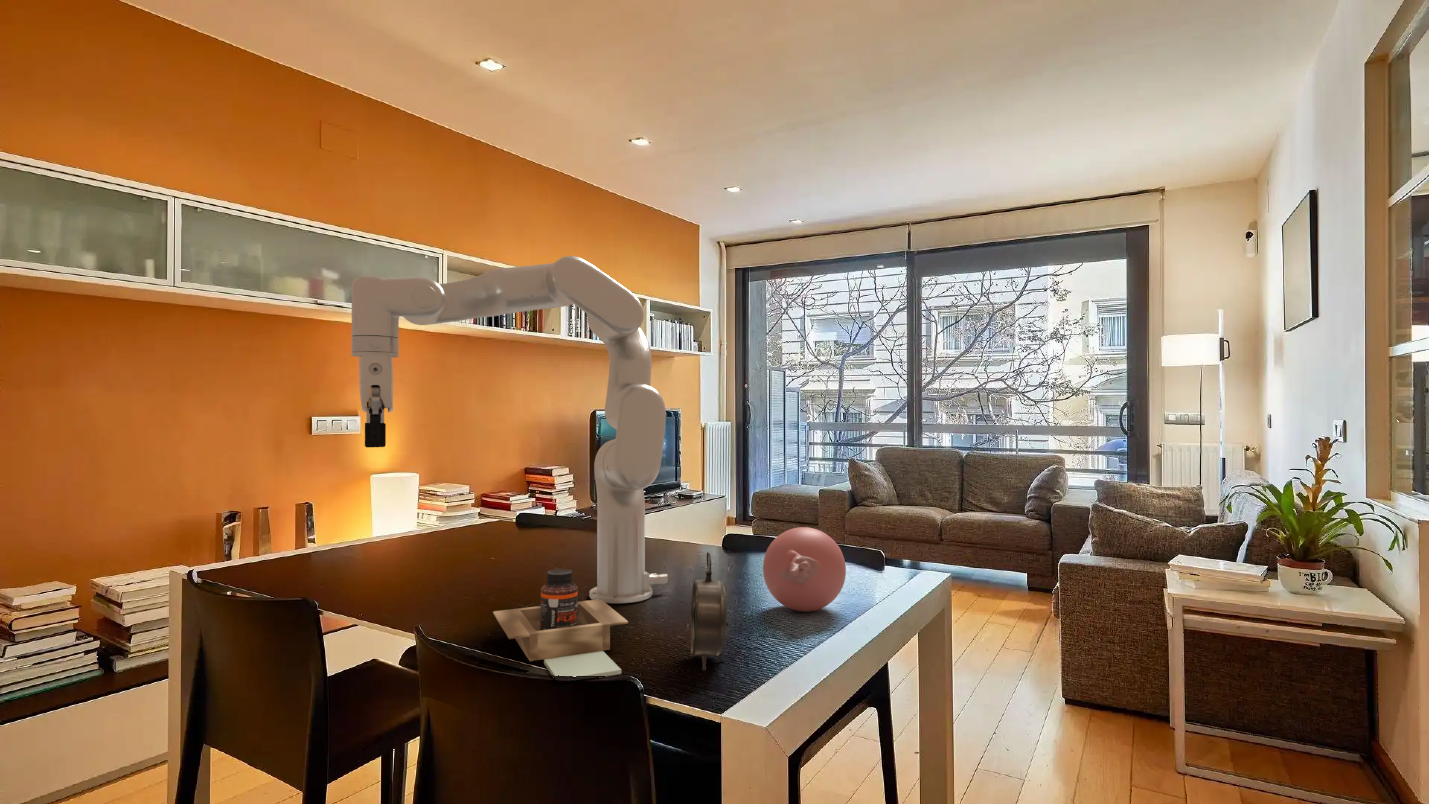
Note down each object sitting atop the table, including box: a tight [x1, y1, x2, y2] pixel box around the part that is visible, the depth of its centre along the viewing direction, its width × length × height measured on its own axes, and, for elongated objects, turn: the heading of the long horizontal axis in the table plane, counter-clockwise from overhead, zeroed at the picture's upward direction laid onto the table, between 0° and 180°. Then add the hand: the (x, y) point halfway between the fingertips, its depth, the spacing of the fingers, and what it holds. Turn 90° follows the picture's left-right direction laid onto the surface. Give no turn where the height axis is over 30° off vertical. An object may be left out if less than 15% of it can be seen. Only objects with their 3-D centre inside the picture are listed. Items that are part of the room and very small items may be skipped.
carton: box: [492, 599, 629, 662], centre depth 119 cm, size 18×15×4 cm
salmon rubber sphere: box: [762, 526, 847, 613], centre depth 135 cm, size 15×20×15 cm
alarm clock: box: [689, 551, 730, 672], centre depth 110 cm, size 11×5×16 cm, turn 5°
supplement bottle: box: [540, 568, 579, 631], centre depth 119 cm, size 6×6×11 cm
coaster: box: [543, 650, 622, 677], centre depth 106 cm, size 9×9×1 cm
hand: (374, 445), depth 128 cm, fingers open, 9 cm apart
